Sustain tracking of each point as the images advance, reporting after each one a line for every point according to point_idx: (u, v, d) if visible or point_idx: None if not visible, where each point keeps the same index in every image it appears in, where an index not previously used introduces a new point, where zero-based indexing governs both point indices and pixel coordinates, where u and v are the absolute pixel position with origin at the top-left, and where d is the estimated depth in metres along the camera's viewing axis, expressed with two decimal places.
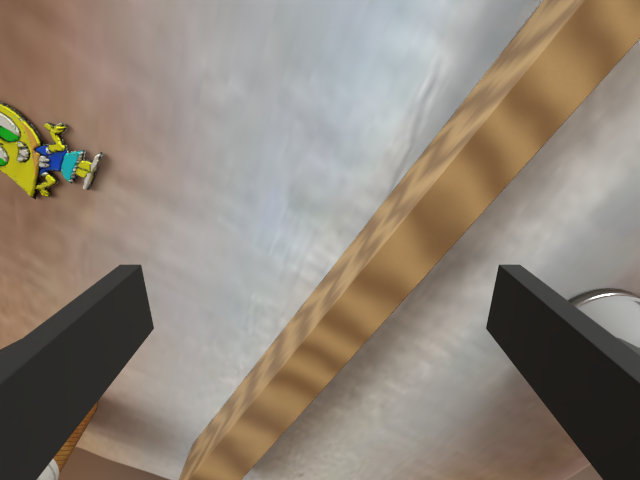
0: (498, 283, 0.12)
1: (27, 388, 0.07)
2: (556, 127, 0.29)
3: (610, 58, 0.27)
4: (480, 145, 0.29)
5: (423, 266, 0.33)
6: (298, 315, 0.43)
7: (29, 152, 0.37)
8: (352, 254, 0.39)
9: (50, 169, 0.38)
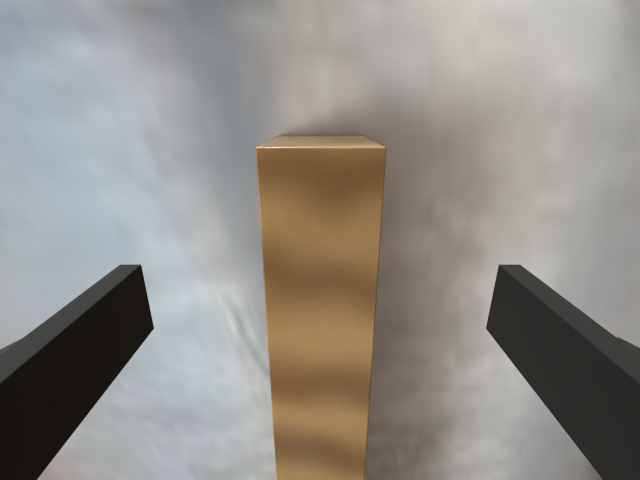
0: (498, 283, 0.12)
1: (27, 388, 0.07)
2: (366, 381, 0.19)
3: (362, 284, 0.17)
4: (293, 443, 0.20)
5: None
6: None
7: None
8: None
9: None
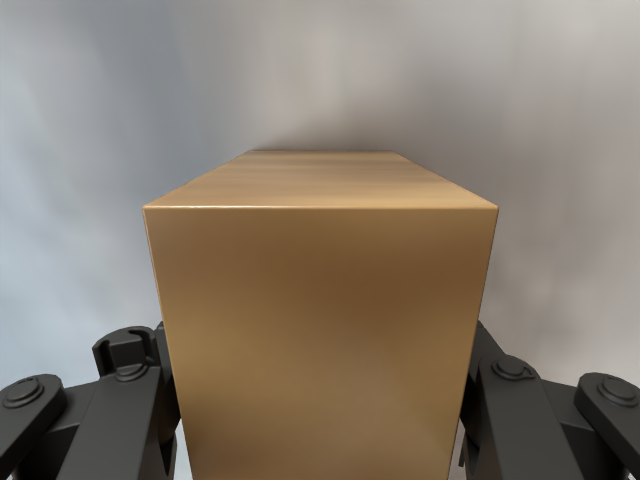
0: None
1: None
2: None
3: None
4: None
5: None
6: None
7: None
8: None
9: None
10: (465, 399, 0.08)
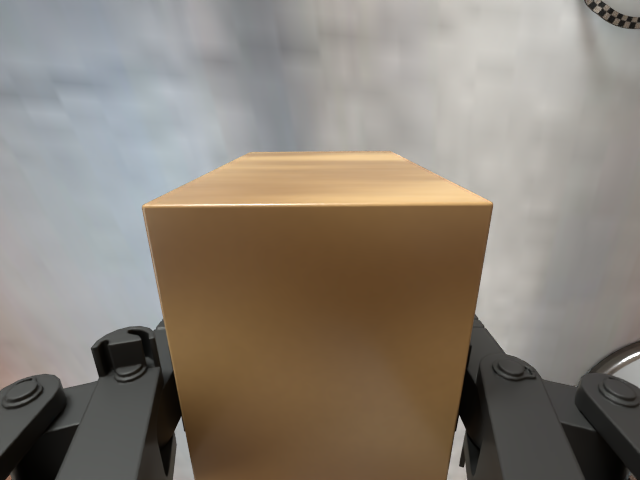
0: None
1: None
2: None
3: None
4: None
5: None
6: None
7: None
8: None
9: None
10: (466, 399, 0.08)
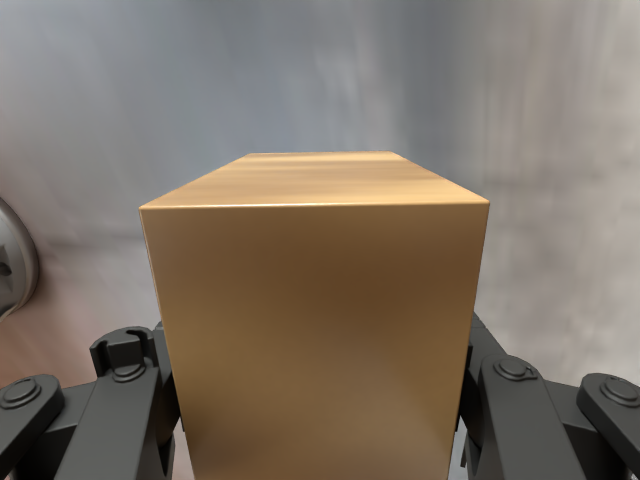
0: None
1: None
2: None
3: None
4: None
5: None
6: None
7: None
8: None
9: None
10: (467, 399, 0.08)
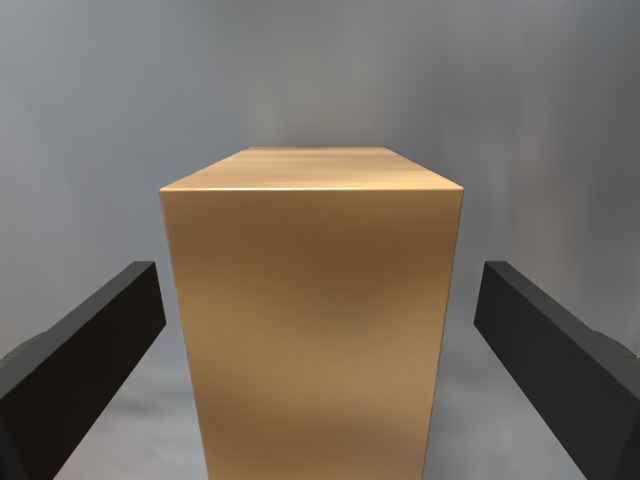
0: (484, 279, 0.12)
1: (53, 378, 0.08)
2: None
3: (397, 448, 0.08)
4: None
5: None
6: None
7: None
8: None
9: None
10: None
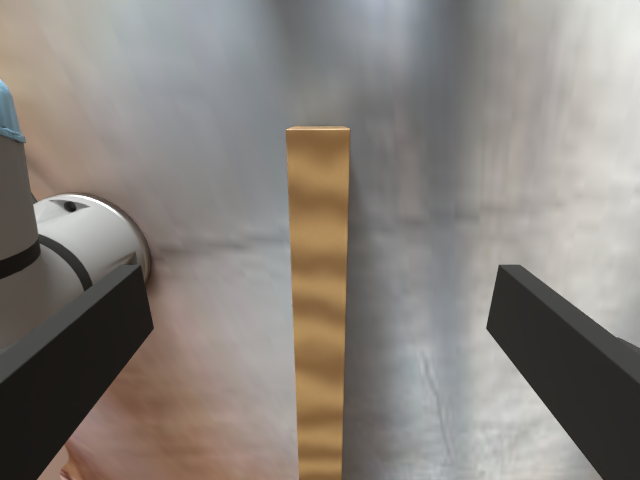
0: (498, 283, 0.12)
1: (27, 388, 0.07)
2: (344, 261, 0.34)
3: (340, 202, 0.32)
4: (303, 303, 0.35)
5: (336, 390, 0.39)
6: None
7: None
8: None
9: None
10: None
